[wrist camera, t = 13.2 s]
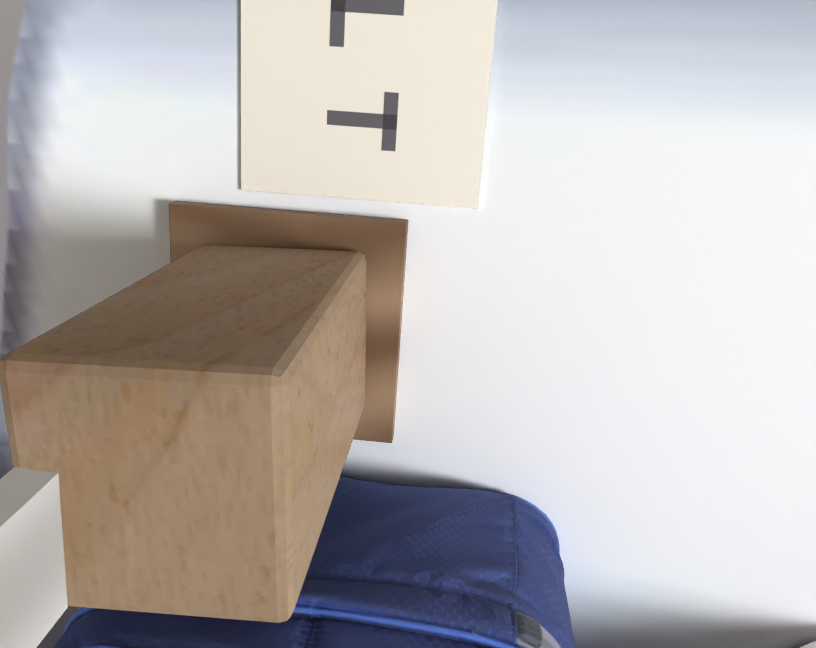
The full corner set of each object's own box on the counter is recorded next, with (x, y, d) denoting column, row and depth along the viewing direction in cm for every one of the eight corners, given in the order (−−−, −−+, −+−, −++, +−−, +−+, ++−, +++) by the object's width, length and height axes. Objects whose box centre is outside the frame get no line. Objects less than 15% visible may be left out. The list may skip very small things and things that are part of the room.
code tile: (241, -74, 39) (240, -75, 39) (503, -58, 38) (503, -59, 38) (242, 189, 43) (240, 190, 43) (477, 208, 43) (477, 209, 42)
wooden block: (209, 398, 46) (27, 608, 27) (200, 242, 43) (-11, 357, 24) (366, 407, 46) (291, 630, 27) (367, 250, 43) (285, 373, 24)
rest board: (176, 201, 44) (168, 203, 43) (408, 219, 43) (406, 223, 42) (182, 413, 48) (175, 421, 47) (393, 434, 47) (391, 443, 46)
